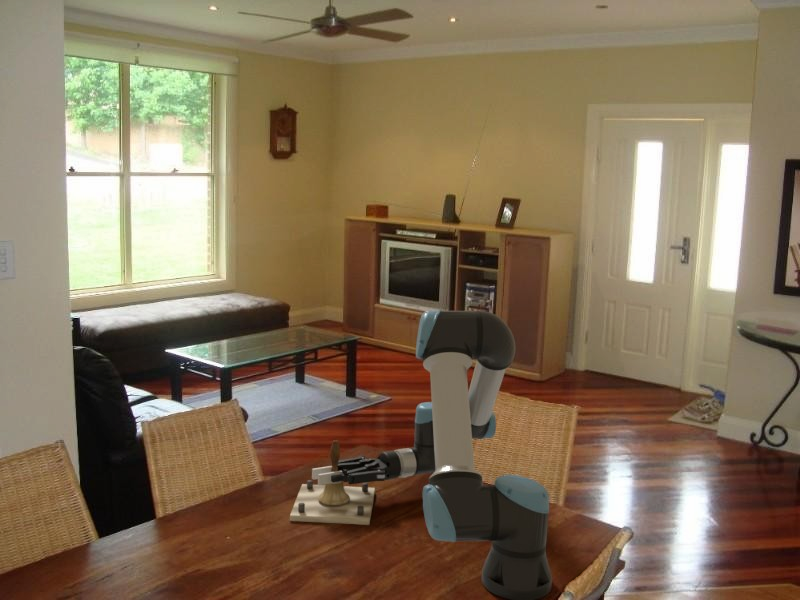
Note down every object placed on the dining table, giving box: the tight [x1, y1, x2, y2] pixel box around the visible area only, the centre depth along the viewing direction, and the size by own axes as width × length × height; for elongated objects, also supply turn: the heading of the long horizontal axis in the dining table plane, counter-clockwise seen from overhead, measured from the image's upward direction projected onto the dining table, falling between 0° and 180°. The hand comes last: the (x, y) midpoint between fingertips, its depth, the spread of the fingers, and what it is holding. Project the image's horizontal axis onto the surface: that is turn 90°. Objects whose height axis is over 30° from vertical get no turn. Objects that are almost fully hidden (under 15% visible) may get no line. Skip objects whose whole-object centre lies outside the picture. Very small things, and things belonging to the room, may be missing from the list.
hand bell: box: [318, 439, 350, 505], centre depth 212 cm, size 8×8×16 cm
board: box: [289, 479, 376, 526], centre depth 213 cm, size 20×20×4 cm
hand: (315, 476), depth 209 cm, fingers closed on hand bell, 3 cm apart
